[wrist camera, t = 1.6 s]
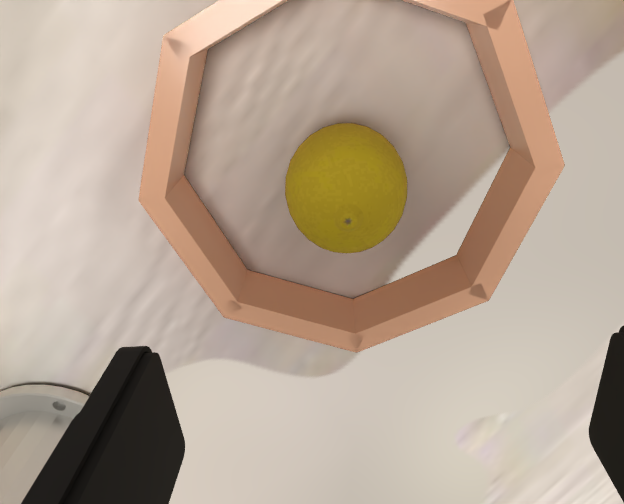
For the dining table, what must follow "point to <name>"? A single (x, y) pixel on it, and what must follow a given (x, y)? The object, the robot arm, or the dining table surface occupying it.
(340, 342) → the collar
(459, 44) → the dining table surface
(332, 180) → the lemon
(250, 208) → the dining table surface
